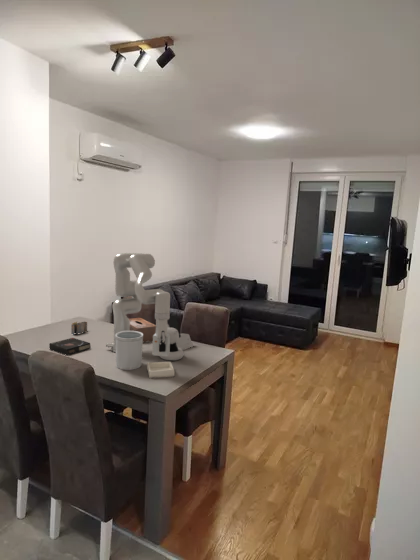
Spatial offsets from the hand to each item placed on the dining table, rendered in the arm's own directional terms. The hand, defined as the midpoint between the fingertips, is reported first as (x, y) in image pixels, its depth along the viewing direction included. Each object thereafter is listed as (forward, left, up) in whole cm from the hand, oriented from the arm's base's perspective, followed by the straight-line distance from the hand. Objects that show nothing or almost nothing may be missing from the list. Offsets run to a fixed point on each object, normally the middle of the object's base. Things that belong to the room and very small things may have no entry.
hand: (161, 348), depth 193 cm
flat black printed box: (-49, +45, -14) cm, 68 cm away
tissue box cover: (-6, +68, -14) cm, 69 cm away
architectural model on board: (-46, +79, -14) cm, 92 cm away
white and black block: (+19, +40, -13) cm, 46 cm away
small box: (0, 0, -3) cm, 3 cm away
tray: (0, 0, -13) cm, 13 cm away
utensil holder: (-16, +13, -13) cm, 24 cm away
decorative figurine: (+9, +23, -13) cm, 28 cm away
